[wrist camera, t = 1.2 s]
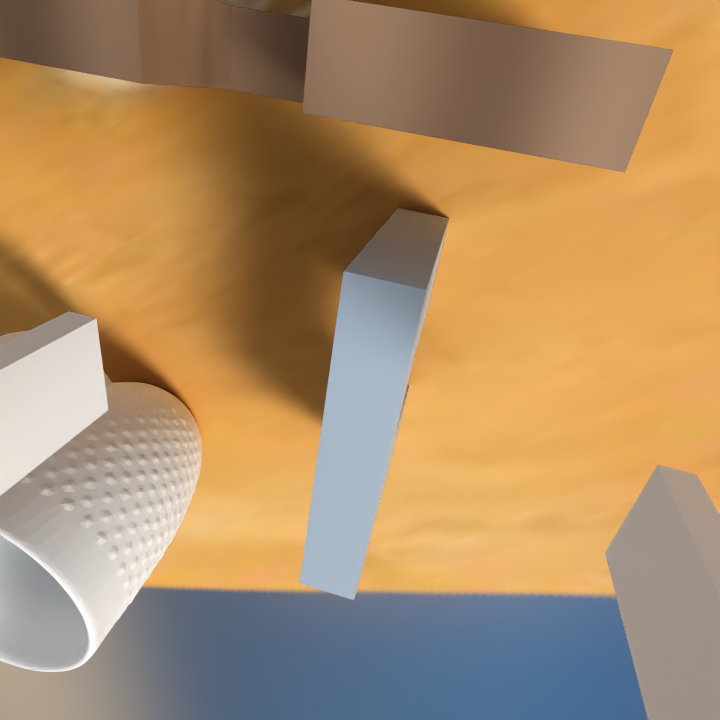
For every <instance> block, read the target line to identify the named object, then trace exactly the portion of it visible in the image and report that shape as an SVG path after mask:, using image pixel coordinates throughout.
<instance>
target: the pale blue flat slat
mask: <svg viewBox="0 0 720 720" xmlns="http://www.w3.org/2000/svg"><path fill="white" fill-rule="evenodd" d="M448 221H449V218H446V217H441V216H436V215H431V214H426V213H421V212H416V211H411V210H407V209H402V208H397V209H396V211H395V212H394V213H393V214H392V215H391V216H390V218H389V219H388V220H387V221H386V222H385V223H384V225H383V226H382V227H381V228H380V229H379V230H378V232H377V233H376V234H375V235H374V236H373V237H372V239H371V240H370V241H369V242H368V243H367V244H366V246H365V247H364V248H363V249H362V250H361V251H360V253H359V254H358V255H357V256H356V257H355V258H354V260H353V261H352V262H351V263H350V264H349V265H348V267H347V268H346V269H345V270H344V271H343V279H342V286H341V293H340V300H339V307H338V314H337V321H336V329H335V336H334V343H333V350H332V357H331V364H330V371H329V378H328V386H327V393H326V400H325V407H324V414H323V421H322V428H321V435H320V443H319V450H318V457H317V464H316V471H315V478H314V485H313V492H312V500H311V507H310V514H309V521H308V528H307V535H306V542H305V550H304V557H303V564H302V571H301V578H300V583H301V584H304V585H307V586H310V587H313V588H317V589H320V590H323V591H326V592H329V593H333V594H336V595H339V596H342V597H346V598H349V599H352V600H354V598H355V594H356V591H357V587H358V583H359V579H360V575H361V572H362V568H363V564H364V560H365V557H366V553H367V549H368V545H369V541H370V538H371V534H372V530H373V526H374V523H375V519H376V515H377V511H378V507H379V504H380V500H381V496H382V492H383V489H384V485H385V481H386V477H387V473H388V470H389V466H390V462H391V458H392V454H393V450H394V446H395V442H396V438H397V434H398V430H399V425H400V421H401V417H402V413H403V409H404V405H405V400H406V396H407V392H408V388H409V386H407V384H408V380H409V376H410V372H411V368H412V363H413V359H414V355H415V352H416V348H417V345H418V341H419V338H420V334H421V331H422V327H423V323H424V320H425V316H426V313H427V308H428V304H429V300H430V296H431V292H432V288H433V283H434V279H435V275H436V271H437V267H438V262H439V258H440V254H441V250H442V246H443V242H444V237H445V233H446V229H447V225H448Z"/></svg>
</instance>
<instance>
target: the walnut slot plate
mask: <svg viewBox="0 0 720 720" xmlns="http://www.w3.org/2000/svg"><path fill="white" fill-rule="evenodd" d="M672 53H673V50H672V49H665V48H659V47H652V46H646V45H639V44H633V43H626V42H620V41H613V40H606V39H600V38H593V37H587V36H580V35H574V34H567V33H560V32H554V31H547V30H541V29H534V28H528V27H521V26H514V25H508V24H501V23H495V22H488V21H482V20H475V19H469V18H462V17H455V16H449V15H442V14H436V13H429V12H423V11H416V10H409V9H403V8H396V7H390V6H383V5H377V4H370V3H363V2H357V1H350V0H312V2H311V14H310V18H304V17H297V16H291V15H285V14H279V13H272V12H266V11H260V10H253V9H247V8H241V7H235V6H230V5H227V4H225V3H222V2H220V1H217V0H0V57H2V58H7V59H13V60H18V61H23V62H29V63H34V64H40V65H45V66H50V67H56V68H61V69H67V70H72V71H78V72H83V73H88V74H94V75H99V76H105V77H110V78H116V79H121V80H126V81H132V82H137V83H143V84H158V85H172V86H187V87H202V88H216V89H230V90H236V91H241V92H247V93H252V94H258V95H263V96H269V97H274V98H280V99H285V100H291V101H296V102H302V103H303V111H302V113H305V114H311V115H316V116H322V117H327V118H332V119H338V120H343V121H349V122H354V123H359V124H365V125H370V126H376V127H381V128H387V129H392V130H397V131H403V132H408V133H414V134H419V135H424V136H430V137H435V138H441V139H446V140H452V141H457V142H462V143H468V144H473V145H479V146H484V147H490V148H495V149H500V150H506V151H511V152H517V153H522V154H527V155H533V156H538V157H544V158H549V159H555V160H560V161H565V162H571V163H576V164H582V165H587V166H593V167H598V168H603V169H609V170H614V171H620V172H625V171H626V168H627V165H628V163H629V160H630V158H631V155H632V153H633V150H634V148H635V145H636V143H637V140H638V138H639V135H640V133H641V130H642V128H643V125H644V123H645V120H646V118H647V115H648V113H649V110H650V108H651V105H652V103H653V100H654V98H655V95H656V93H657V90H658V88H659V85H660V83H661V80H662V78H663V75H664V73H665V70H666V68H667V65H668V63H669V60H670V58H671V55H672Z"/></svg>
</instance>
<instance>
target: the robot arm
mask: <svg viewBox="0 0 720 720" xmlns="http://www.w3.org/2000/svg"><path fill="white" fill-rule="evenodd" d="M106 411H108V403H107V395H106V387H105V380H104V372H103V365H102V357H101V349H100V342H99V334H98V327H97V319H96V318H93V317H89V316H85V315H81V314H77V313H73V312H70V311H68V312H66V313H64V314H62V315H60V316H58V317H56V318H54V319H52V320H50V321H48V322H46V323H44V324H41V325H39V326H37V327H35V328H33V329H31V330H29V331H27V332H25V333H23V334H21V335H19V336H17V337H15V338H13V339H10V340H8V341H6V342H4V343H2V344H0V496H1V495H2V494H3V493H4V492H6V491H7V490H8V489H9V488H11V487H12V486H13V485H14V484H16V483H17V482H18V481H19V480H21V479H22V478H23V477H24V476H26V475H27V474H28V473H30V472H31V471H32V470H33V469H35V468H36V467H37V466H38V465H40V464H41V463H42V462H43V461H45V460H46V459H47V458H48V457H50V456H51V455H52V454H53V453H55V452H56V451H57V450H59V449H60V448H61V447H62V446H64V445H65V444H66V443H67V442H69V441H70V440H71V439H72V438H74V437H75V436H76V435H77V434H79V433H80V432H81V431H82V430H84V429H85V428H86V427H88V426H89V425H90V424H91V423H93V422H94V421H95V420H96V419H98V418H99V417H100V416H101V415H103V414H104V413H105V412H106ZM605 554H606V558H607V562H608V566H609V570H610V574H611V577H612V581H613V585H614V589H615V593H616V597H617V601H618V605H619V608H620V612H621V616H622V620H623V624H624V628H625V632H626V636H627V639H628V643H629V647H630V651H631V655H632V659H633V663H634V666H635V671H636V675H637V678H638V682H639V686H640V690H641V694H642V698H643V702H644V705H645V709H646V713H647V717H648V720H720V515H719V513H718V512H717V510H716V508H715V506H714V505H713V503H712V501H711V499H710V497H709V496H708V494H707V492H706V490H705V488H704V487H703V485H702V483H701V481H700V480H699V478H698V476H697V475H695V474H692V473H688V472H684V471H680V470H676V469H672V468H669V467H665V466H661V465H658V466H657V467H656V469H655V471H654V472H653V474H652V476H651V477H650V479H649V481H648V482H647V484H646V486H645V487H644V489H643V491H642V492H641V494H640V496H639V497H638V499H637V501H636V502H635V504H634V506H633V507H632V509H631V511H630V512H629V514H628V516H627V517H626V519H625V521H624V522H623V524H622V526H621V527H620V529H619V530H618V532H617V534H616V535H615V537H614V539H613V540H612V542H611V544H610V545H609V547H608V549H607V550H606V552H605Z"/></svg>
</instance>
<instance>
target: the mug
mask: <svg viewBox="0 0 720 720" xmlns="http://www.w3.org/2000/svg"><path fill="white" fill-rule="evenodd" d="M25 332H27V331H19V332H13V333H8V334H5V335H1V336H0V344H2V343H4V342H6V341H8V340H10V339H13V338H15V337H17V336H19V335H21V334H23V333H25ZM103 372H104V371H103ZM104 380H105V387H106V395H107V403H108V411H106V412H105V413H104V414H103V415H101V416H100V417H99V418H98V419H96V420H95V421H94V422H93V423H91V424H90V425H89V426H88V427H86V428H85V429H84V430H82V431H81V432H80V433H79V434H77V435H76V436H75V437H74V438H72V439H71V440H70V441H69V442H67V443H66V444H65V445H64V446H62V447H61V448H60V449H59V450H57V451H56V452H55V453H53V454H52V455H51V456H50V457H48V458H47V459H46V460H45V461H43V462H42V463H41V464H40V465H38V466H37V467H36V468H35V469H33V470H32V471H31V472H30V473H28V474H27V475H26V476H24V477H23V478H22V479H21V480H19V481H18V482H17V483H16V484H14V485H13V486H12V487H11V488H9V489H8V490H7V491H6V492H4V493H3V494H2V495H1V496H0V661H3V662H6V663H8V664H12V665H15V666H18V667H22V668H26V669H30V670H35V671H46V672H60V671H67V670H71V669H74V668H77V667H79V666H81V665H82V664H84V663H85V662H86V661H87V660H88V659H89V658H90V657H91V656H92V655H93V654H94V653H95V651H96V650H97V648H98V647H99V646H100V644H101V643H102V641H103V639H104V638H105V636H106V635H107V634H108V632H109V631H110V630H111V628H112V627H113V625H114V624H115V622H116V621H117V620H118V619H119V618H120V617H121V615H122V613H123V612H124V611H125V610H126V608H127V606H128V605H129V604H130V603H131V602H132V601H133V599H134V597H135V595H136V594H137V593H138V591H139V589H140V588H141V587H142V585H143V584H144V582H145V581H146V580H147V579H148V578H149V576H150V574H151V572H152V571H153V569H154V567H155V566H156V565H157V564H158V561H159V560H160V559H161V558H162V557H163V554H164V552H165V551H166V548H167V546H168V545H169V544H170V543H171V542H172V539H173V537H174V536H175V535H176V531H177V529H178V527H179V526H180V524H181V522H182V521H183V517H184V516H185V512H186V510H187V509H188V505H189V504H190V502H191V498H192V494H193V492H194V491H195V489H196V484H197V479H198V477H199V474H200V466H201V463H202V461H201V457H202V443H201V435H200V431H199V428H198V425H197V423H196V421H195V419H194V417H193V415H192V414H191V412H190V411H189V410H188V409H187V407H186V406H185V405H184V404H183V403H182V402H181V401H180V400H179V399H178V398H176V397H175V396H174V395H172V394H170V393H169V392H167V391H165V390H163V389H161V388H159V387H156V386H154V385H150V384H146V383H140V382H116V383H112V382H111V381H110V379H109V378H108V376H107V375H106V373H105V372H104Z"/></svg>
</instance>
